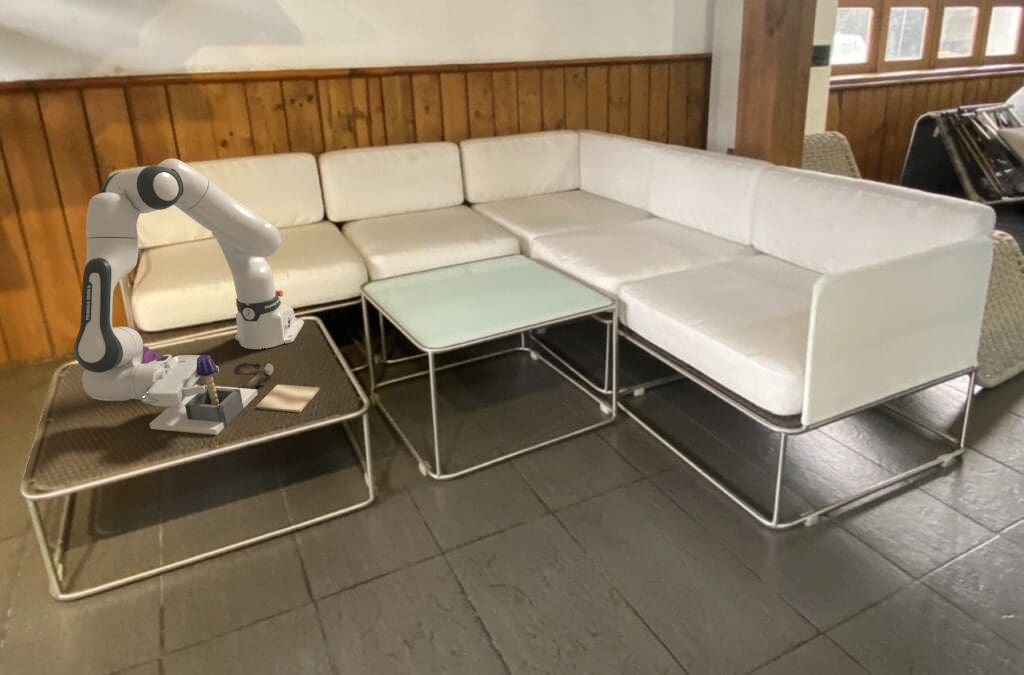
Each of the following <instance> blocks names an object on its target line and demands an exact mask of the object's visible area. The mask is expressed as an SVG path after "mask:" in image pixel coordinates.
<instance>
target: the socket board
mask: <svg viewBox="0 0 1024 675" xmlns="http://www.w3.org/2000/svg"><path fill="white" fill-rule="evenodd" d="M197 385H198V384H194V386H197ZM205 385H206V388H207V384H205ZM214 388H215V389H216V394H217V399H218V400H219V403H218V404H219V405H212V404H211V399H210V394H209V392H208V388H207V390H206V391H205V393H199V394H195V395H192V396H189V397H185V398H184V400H183V401H182V402H181V404H180V405H177V406H173V407H167V408H166V409H165V410H164V411H163V412H161V413H160V414H158V416H156V417H155V418H154V419H153V420H152V421H151V422H149V427H150V429H152V430H161V431H169V432H170V431H171V432H181V433H192V434H193V433H194V434H203V435H212V436H213V435H214V436H218V434H220V433H221V431H223V430H224V429H225V428H226V427H227V426H228V425H229V423H231V422H232V420H234V419H235V418H236V417H237V415H238V414H240V413H241V412H242V411H243V409H244V408H246V406H248V405H249V404H250V403H251V401H253V399H255V397H256V396H258V390H257V389H256V388H254V389H245V388H242V387H233V386H232V387H231V386H219V385H218V386H217V385H215V387H214Z"/></svg>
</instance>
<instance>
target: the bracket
mask: <svg viewBox="0 0 1024 675" xmlns="http://www.w3.org/2000/svg"><path fill="white" fill-rule="evenodd" d="M160 357H161V354H160V352H159V351H158V350H157V349H152V348H151V349H150V348H149V347H147V346H145V345H144V350H143V360H142V364H148V363H149V362H152V361H154V360H156V359H158V358H160Z"/></svg>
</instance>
